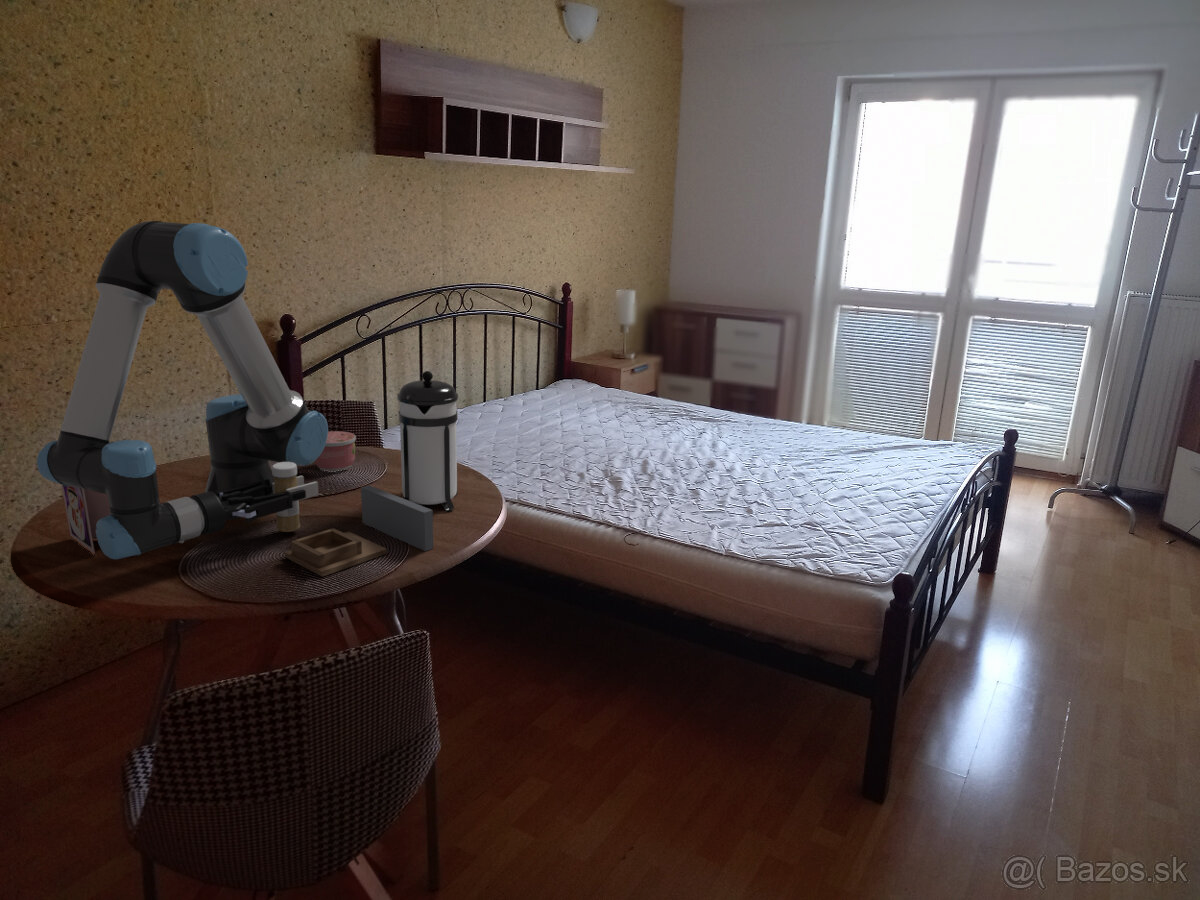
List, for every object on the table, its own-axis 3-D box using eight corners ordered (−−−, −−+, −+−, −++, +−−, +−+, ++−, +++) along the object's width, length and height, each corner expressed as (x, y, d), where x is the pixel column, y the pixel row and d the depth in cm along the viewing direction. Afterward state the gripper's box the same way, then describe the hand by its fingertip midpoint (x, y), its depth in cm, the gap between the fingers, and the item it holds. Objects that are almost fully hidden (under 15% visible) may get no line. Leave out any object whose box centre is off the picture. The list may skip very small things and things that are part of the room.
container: (333, 477, 198) (331, 445, 196) (303, 468, 204) (301, 437, 201) (366, 466, 207) (364, 436, 205) (337, 458, 212) (335, 428, 210)
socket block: (322, 576, 147) (321, 558, 146) (285, 557, 154) (283, 539, 153) (386, 553, 158) (386, 536, 157) (349, 536, 165) (348, 519, 164)
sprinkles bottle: (272, 528, 165) (267, 464, 161) (293, 522, 168) (288, 459, 164) (284, 534, 162) (279, 470, 158) (305, 528, 166) (301, 465, 162)
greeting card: (66, 540, 158) (53, 466, 153) (108, 529, 163) (96, 457, 159) (89, 558, 151) (76, 480, 146) (132, 545, 156) (121, 471, 152)
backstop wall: (425, 551, 160) (424, 512, 158) (362, 523, 172) (360, 487, 169) (433, 548, 161) (432, 510, 159) (370, 521, 173) (369, 485, 171)
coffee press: (480, 503, 186) (480, 372, 177) (420, 520, 175) (417, 381, 166) (436, 483, 197) (434, 359, 189) (377, 497, 186) (371, 367, 178)
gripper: (174, 522, 156) (287, 491, 173) (221, 549, 145) (336, 513, 163) (170, 485, 153) (284, 457, 171) (217, 509, 143) (334, 477, 161)
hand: (309, 485), depth 167 cm, fingers closed on sprinkles bottle, 4 cm apart
